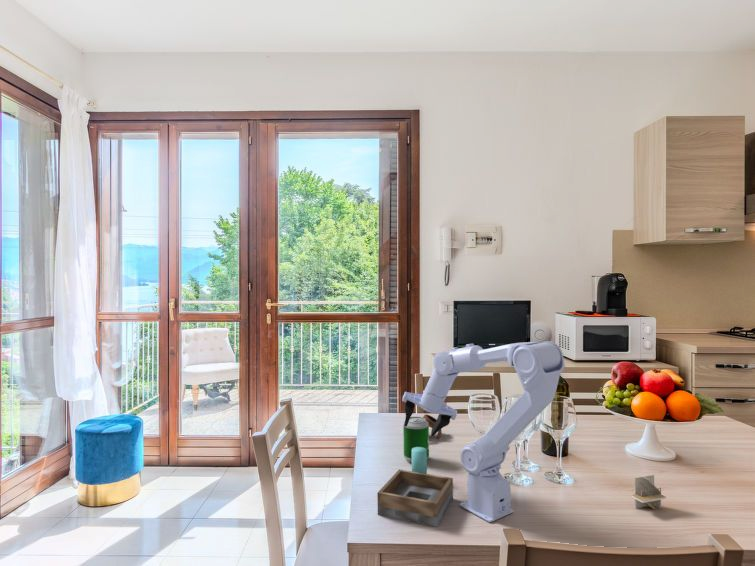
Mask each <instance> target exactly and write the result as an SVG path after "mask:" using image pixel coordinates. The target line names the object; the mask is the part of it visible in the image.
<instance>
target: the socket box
mask: <svg viewBox="0 0 755 566" xmlns="http://www.w3.org/2000/svg"><path fill="white" fill-rule="evenodd" d="M453 479H454V478H453V477H448V476H441V475H436V474H428V473H427V474H424V473H418V472H412V470H411V471H410V470H405V469H398V470H397V471H396V472H395V473H394V474H393V475H392V477H390V479H388V481H387V482H386V483H385V484H384V485H383V486H382V487H381V488H380V490H378V492H377V495H376V496H377V515H378V516H384V517H388V518H391V519H392V518H393V519H398V520H403V521H407V522H412V523H417V524H422V525H427V526H431V527H436V528H437V527H438V525H439V524H440V522H441V520H442V519H443V517H444V515H445V514H446V512H447V510H448V508H449V506H450V504H451V503H452V501H453V499H454V480H453Z"/></svg>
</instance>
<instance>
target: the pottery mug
mask: <svg viewBox="0 0 755 566" xmlns="http://www.w3.org/2000/svg"><path fill="white" fill-rule="evenodd" d="M422 417H423V418H425V419H426V421H427V422H428V424H429V428H431V429H432V428H433V426H434V424H435V422H436V420H437V418H435V417H433V416H431V415H430V414H427V413H426V414H424V415H423V416H422ZM442 432H443V431H442V429H440V430H439V431H438V432H437V435H436V438H437V439H440V438H441V436H442Z"/></svg>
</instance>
